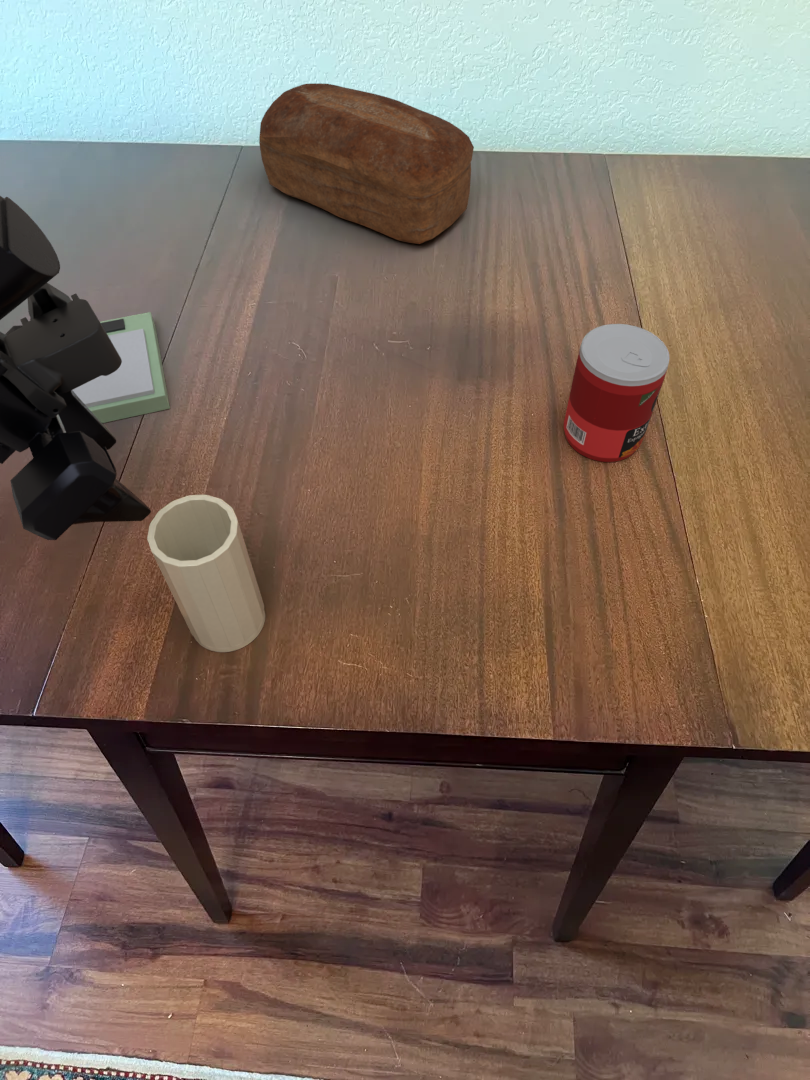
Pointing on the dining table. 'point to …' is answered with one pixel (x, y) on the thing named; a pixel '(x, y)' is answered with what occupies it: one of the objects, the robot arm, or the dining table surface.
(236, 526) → the cup
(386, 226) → the bread
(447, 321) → the dining table surface
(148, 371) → the scale
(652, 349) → the canned food
